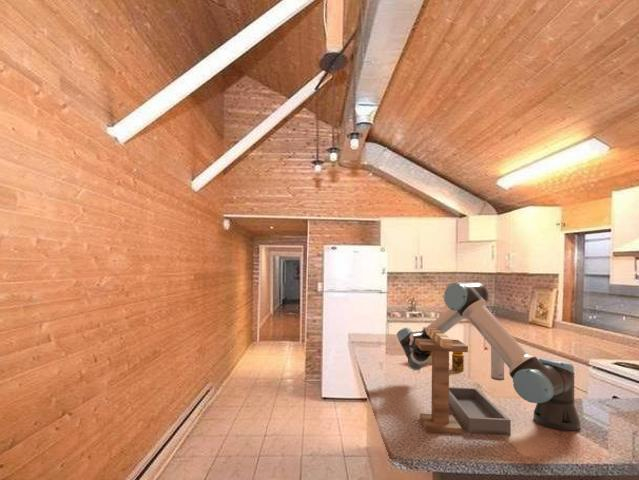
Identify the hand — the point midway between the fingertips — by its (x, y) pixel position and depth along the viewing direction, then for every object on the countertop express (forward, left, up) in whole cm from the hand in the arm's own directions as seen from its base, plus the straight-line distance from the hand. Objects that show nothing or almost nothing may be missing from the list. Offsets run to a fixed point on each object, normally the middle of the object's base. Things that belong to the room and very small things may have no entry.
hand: (429, 337), depth 161 cm
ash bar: (-10, +10, +1) cm, 14 cm away
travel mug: (+2, -66, -29) cm, 72 cm away
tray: (-14, -9, -29) cm, 33 cm away
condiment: (+24, -64, -29) cm, 75 cm away
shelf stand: (-12, +12, -29) cm, 33 cm away
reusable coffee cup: (+44, -67, -29) cm, 85 cm away
